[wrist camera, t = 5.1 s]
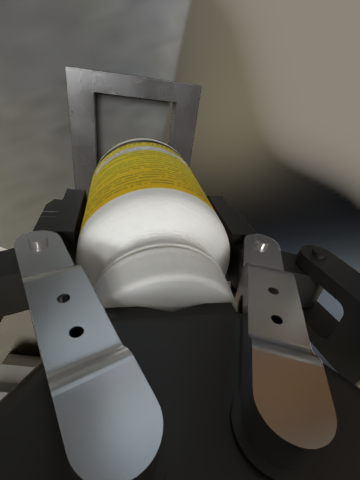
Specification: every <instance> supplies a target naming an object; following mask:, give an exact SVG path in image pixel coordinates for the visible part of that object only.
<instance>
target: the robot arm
mask: <svg viewBox="0 0 360 480" xmlns="http://www.w3.org/2000/svg"><path fill="white" fill-rule="evenodd" d="M206 197H207V199H208V200H209V202H210V204H211V205H212V207H213V209H214V210H215V212H216V214H217V216H218V217H219V219H220V221H221V223H222V224H223V226H224V228H225V231H226V233H227V236H228V240H229V245H230V261H229V266H228V270H227V273H226V275H225V278H226V280H227V281H230V282H231V284H230V289H231V292H232V294H233V296H234V299H235V301H236V304H237V309H238V312H236V311H235V309H234V307H233V305H232V303H231V302H229V303H206V304H200V305H196V306H192V307H188V308H185V309H181V310H177V311H165V310H159V309H152V308H146V307H139V306H137V307H114V308H105V310H104V308H103V306H102V304H101V303H100V301H99V299H98V297H97V295H96V293H95V291H94V289H93V287H92V285H91V283H90V281H89V279H88V277H87V276H86V274H85V272H84V270H83V268H82V266H81V265H80V264H78V265H76V250H77V242H78V236H79V232H80V228H81V224H82V220H83V216H84V212H85V207H86V203H87V195H86V190H83V189H67V191H66V193H65V196H64V198H63V200H58V199H54V200H53V201H51V202H49V203H48V204H46V206H45V208H44V210H43V212H42V214H41V216H40V218H39V220H38V222H37V224H36V226H35V228H34V230H33V231H32V232H29V233H26V234H23V235H21V236H20V237H18V238H17V239H16V240H15V242H14V248H12V249H8V250H4V251H0V322H1V320H2V319H3V316H7V315H10V314H14V313H18V312H22V311H25V310H29V311H30V315H31V319H32V323H33V327H34V331H35V335H36V339H37V343H38V347H39V351H40V355H41V359H42V361H41V362H40V363H39V364H38V365H37V366H36V367H35V368H34V369H33V370H32V371H31V372H30V373H29V374H28V375H27V376H25V377H24V378H23V379H22V380H21V381H20V382H19V383H18V384H17V385H16V386H15V387H14V388H13V389H12V390H11V391H10V392H9V393H8V394H7V395H6V396H4V397H3V398H2V399H1V400H0V480H360V273H359V272H357V271H356V270H355V269H353V268H352V267H351V266H349V265H348V264H347V263H345V262H344V261H342V260H341V259H340V258H338V257H337V256H336V255H334V254H333V253H332V252H330V251H328V250H327V249H324V248H322V247H319V246H316V245H303V246H302V247H301V248H300V251H299V253H298V254H294V253H289V252H283V251H280V247H279V244H278V243H277V242H276V241H274V240H273V239H271V238H269V237H267V236H264V235H260V234H256V232H255V231H254V230H253V228H252V227H251V226H250V224H249V223H248V222H247V221H246V219H244V217H243V216H242V214H241V213H240V212H239V211H238V210H236V209H234V208H233V207H230V206H229V205H228V204H227V202H226V201H225V199H224V198H223V197H222V196H206ZM323 289H325V290H326V291H327V292H329V293H330V294H331V295H332V296H333V297H334V298H335V299H337V300H338V301H339V302H340V303H341V305H342V307H343V310H344V315H343V317H342V319H341V320H340V322H338V321H337V320H336V319H335V318H334V317H333V316H332V315H331V314H330V313H329V312H328V311H327V310H326V309H325V308H324V307H323V306H322V305H321V304H320V303H318V302H317V299H318V297H319V296H320V294H321V292H322V290H323ZM310 342H311V343H312V344H313V345H314V346H315V347H316V348H317V349H318V351H319V352H320V353H321V354H322V355H323V356H324V358H325V359H326V360H327V361H328V362H329V363H330V364H331V365H332V367H333V368H334V369H335V370H336V371H337V372H338V373H339V374H338V373H337V372H335V371H334V370H332V369H331V368H329V367H328V366H327V365H325V364H324V363H322V361H321V359H320V358H319V357H318V356H317V355H316V354H314V353H313V351H312V349H311V345H310Z"/></svg>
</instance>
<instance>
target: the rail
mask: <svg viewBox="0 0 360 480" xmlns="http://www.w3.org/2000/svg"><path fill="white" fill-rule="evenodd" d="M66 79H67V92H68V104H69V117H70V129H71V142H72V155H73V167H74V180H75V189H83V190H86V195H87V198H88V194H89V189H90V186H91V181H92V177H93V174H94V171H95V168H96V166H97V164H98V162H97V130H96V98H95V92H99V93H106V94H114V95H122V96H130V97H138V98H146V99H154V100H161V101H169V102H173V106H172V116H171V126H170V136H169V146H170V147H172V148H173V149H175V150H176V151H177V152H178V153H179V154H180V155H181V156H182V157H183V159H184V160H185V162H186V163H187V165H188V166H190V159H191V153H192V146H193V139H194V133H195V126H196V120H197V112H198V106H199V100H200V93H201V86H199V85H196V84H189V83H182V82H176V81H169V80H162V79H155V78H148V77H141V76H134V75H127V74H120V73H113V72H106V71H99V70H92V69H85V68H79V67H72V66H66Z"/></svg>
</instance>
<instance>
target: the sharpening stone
mask: <svg viewBox="0 0 360 480" xmlns="http://www.w3.org/2000/svg"><path fill="white" fill-rule="evenodd" d="M41 361H42V359H41V357H37V356H28V355H19V354H10V353H9V354H8V355H7V357H6V358H5V360H4V361H3V362H2V364H1V366H0V400H1V399H2V398H3V397H4V396H6V395H7V394H8V393H9V392H10V391H11V390H12V389H13V388H14V387H15V386H16V385H17V384H18V383H19V382H20V381H21V380H22V379H23V378H24V377H25V376H27V375H28V374H29V373H30V372H31V371H32V370H33V369H34V368H35V367H36V366H37V365H38V364H39V363H40V362H41Z"/></svg>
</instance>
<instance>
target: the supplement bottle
mask: <svg viewBox="0 0 360 480" xmlns="http://www.w3.org/2000/svg"><path fill="white" fill-rule="evenodd" d="M229 261H230V245H229V240H228V236H227V233H226V231H225V228H224V226H223V224H222V223H221V221H220V219H219V217H218V216H217V214H216V212H215V210H214V209H213V207H212V205H211V204H210V202H209V200H208V199H207V197H206V195H205V194H204V192H203V190H202V189H201V187H200V185H199V183H198V182H197V180H196V178H195V177H194V175H193V173H192V172H191V170H190V168H189V166H188V165H187V163H186V162H185V160H184V159H183V157H182V156H181V155H180V154H179V153H178V152H177V151H176V150H175V149H173V148H172V147H170V146H169V145H167V144H165V143H163V142H161V141H158V140H154V139H148V138H137V139H130V140H127V141H124V142H121V143H119V144H117V145H116V146H114V147H113V148H111V149H110V150H109V151H108V152H107V153H106V154H105V155H104V156H103V157H102V158H101V159H100V161H99V163H98V164H97V166H96V168H95V171H94V174H93V177H92V181H91V186H90V189H89V194H88V198H87V203H86V207H85V212H84V216H83V220H82V224H81V228H80V232H79V236H78V242H77V250H76V265H78V264H80V265H81V266H82V268H83V270H84V272H85V274H86V276H87V277H88V279H89V281H90V283H91V285H92V287H93V289H94V291H95V293H96V295H97V297H98V299H99V301H100V303H101V304H102V306H103V308H104V310H105V308H114V307H137V306H139V307H146V308H152V309H159V310H165V311H177V310H181V309H185V308H188V307H192V306H196V305H200V304H206V303H229V302H231V303H232V305H233V307H234V309H235V311H236V312H238V309H237V304H236V301H235V299H234V296H233V294H232V292H231V289H230V287H229V285H228V283H227V280H226V278H225V275H226V273H227V270H228V266H229Z"/></svg>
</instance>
